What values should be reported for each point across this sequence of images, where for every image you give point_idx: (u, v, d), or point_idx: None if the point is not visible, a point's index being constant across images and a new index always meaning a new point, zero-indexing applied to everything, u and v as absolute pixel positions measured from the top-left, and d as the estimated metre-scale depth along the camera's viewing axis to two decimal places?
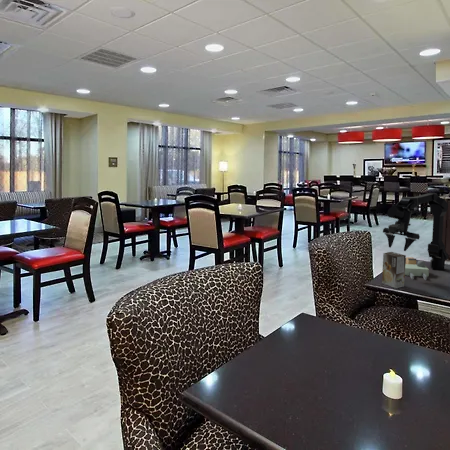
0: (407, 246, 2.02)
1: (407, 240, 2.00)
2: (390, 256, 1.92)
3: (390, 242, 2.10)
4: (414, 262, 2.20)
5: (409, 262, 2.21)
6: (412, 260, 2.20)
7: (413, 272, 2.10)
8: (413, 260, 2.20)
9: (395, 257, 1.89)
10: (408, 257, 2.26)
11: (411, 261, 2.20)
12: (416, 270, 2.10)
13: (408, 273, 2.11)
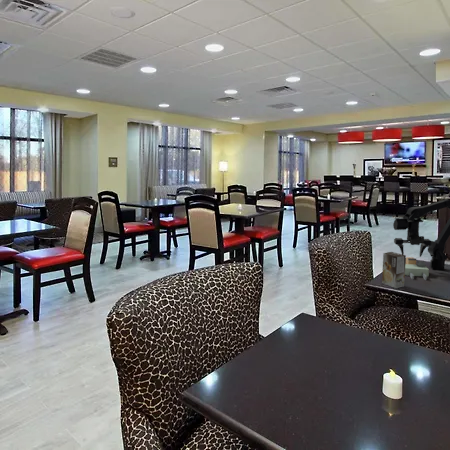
0: None
1: (424, 247, 2.19)
2: (390, 256, 1.92)
3: None
4: (414, 262, 2.20)
5: (409, 262, 2.21)
6: (412, 260, 2.20)
7: (413, 272, 2.10)
8: (413, 260, 2.20)
9: (395, 257, 1.89)
10: (408, 257, 2.26)
11: (411, 261, 2.20)
12: (416, 270, 2.10)
13: (408, 273, 2.11)
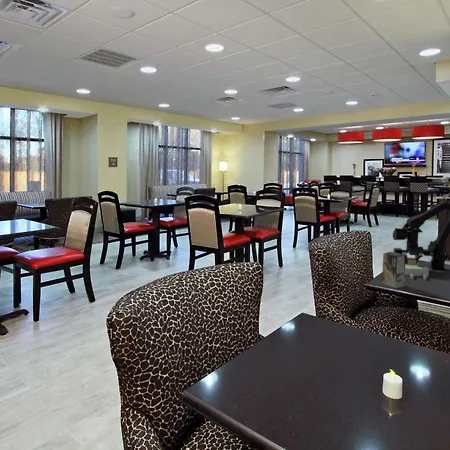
0: None
1: (419, 257, 2.20)
2: (390, 256, 1.92)
3: (406, 261, 2.24)
4: (414, 262, 2.20)
5: (409, 262, 2.21)
6: (412, 260, 2.20)
7: (413, 272, 2.10)
8: (413, 260, 2.20)
9: (395, 257, 1.89)
10: (408, 257, 2.26)
11: (411, 261, 2.20)
12: (416, 270, 2.10)
13: (408, 273, 2.11)
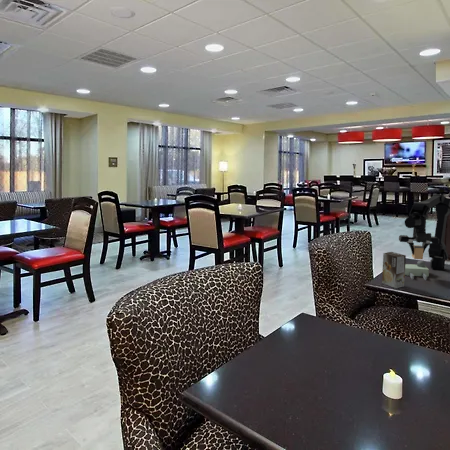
0: None
1: (426, 245, 2.04)
2: (390, 256, 1.92)
3: None
4: (421, 250, 2.04)
5: (416, 250, 2.05)
6: (419, 248, 2.04)
7: (413, 272, 2.10)
8: (420, 248, 2.04)
9: (395, 257, 1.89)
10: (415, 245, 2.10)
11: (418, 249, 2.04)
12: (416, 270, 2.10)
13: (408, 273, 2.11)
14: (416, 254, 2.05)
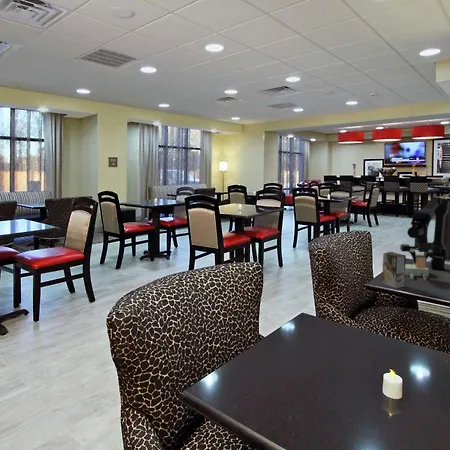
0: None
1: (428, 254, 2.02)
2: (390, 256, 1.92)
3: None
4: (423, 260, 2.01)
5: (418, 259, 2.02)
6: (421, 257, 2.01)
7: (413, 272, 2.10)
8: (422, 257, 2.01)
9: (395, 257, 1.89)
10: (416, 254, 2.08)
11: (420, 258, 2.02)
12: (416, 270, 2.10)
13: (408, 273, 2.11)
14: (418, 263, 2.02)
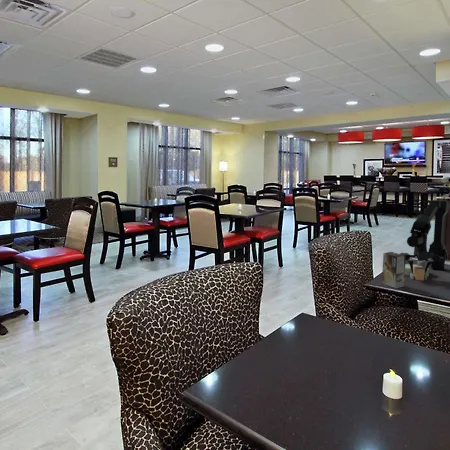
0: None
1: (429, 263, 2.02)
2: (390, 256, 1.92)
3: (412, 267, 2.06)
4: (422, 272, 2.02)
5: (417, 271, 2.03)
6: (420, 269, 2.02)
7: None
8: (421, 269, 2.02)
9: (395, 257, 1.89)
10: None
11: (419, 270, 2.03)
12: None
13: (408, 273, 2.11)
14: (417, 275, 2.03)
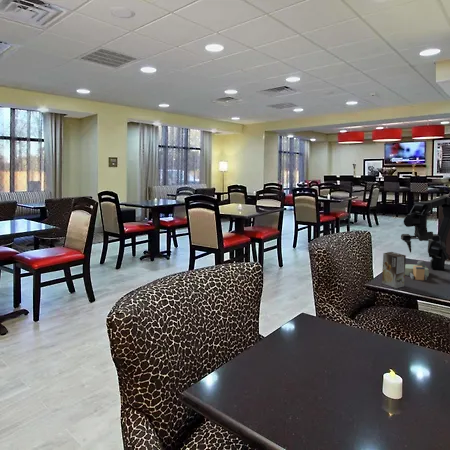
0: None
1: (433, 243, 2.11)
2: (390, 256, 1.92)
3: (410, 247, 2.15)
4: (422, 272, 2.02)
5: (417, 271, 2.03)
6: (420, 269, 2.02)
7: None
8: (421, 269, 2.02)
9: (395, 257, 1.89)
10: None
11: (419, 270, 2.03)
12: None
13: (408, 273, 2.11)
14: (417, 275, 2.03)
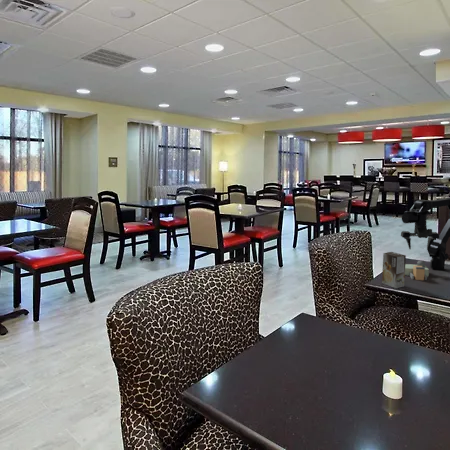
0: None
1: (432, 241, 2.14)
2: (390, 256, 1.92)
3: None
4: (422, 272, 2.02)
5: (417, 271, 2.03)
6: (420, 269, 2.02)
7: None
8: (421, 269, 2.02)
9: (395, 257, 1.89)
10: None
11: (419, 270, 2.03)
12: None
13: (408, 273, 2.11)
14: (417, 275, 2.03)
